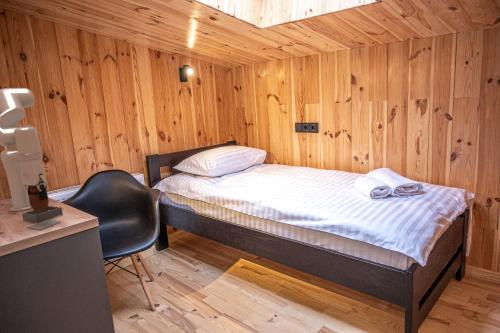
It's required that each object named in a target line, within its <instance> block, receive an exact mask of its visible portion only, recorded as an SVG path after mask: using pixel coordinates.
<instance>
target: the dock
mask: <svg viewBox="0 0 500 333" xmlns="http://www.w3.org/2000/svg"><path fill="white" fill-rule="evenodd" d="M63 214H64V212H63V208H62V207H60V206H55V205H54V206H53V205H48V207H47V208H46V209H44V210H40V211H35V210H33V209H32V210H30V211H26V212H23V213H21V217H22V221H23V222H27V223H33V224H37V223H40V222H43V221H46V220H52V219H53V218H57V217H60V216H63Z"/></svg>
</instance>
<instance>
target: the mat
mask: <svg viewBox="0 0 500 333" xmlns="http://www.w3.org/2000/svg"><path fill="white" fill-rule="evenodd" d="M61 223H62V222H61V221H59V220H52V219H48V220H45V221H43V222H40V223H33V224H32V225H29V226H26V229H28V230H34V231H42V230H45V229H48V228H51V227H53V226H56V225H60V224H61Z"/></svg>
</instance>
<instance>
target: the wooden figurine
mask: <svg viewBox="0 0 500 333" xmlns="http://www.w3.org/2000/svg"><path fill="white" fill-rule="evenodd" d="M40 183H41V182H40ZM38 184H39V183H38ZM40 187H41V185H40ZM29 190H30V192H31V193H32V194H30V195H29V203H30V205H31V207H32V208H31V209H32V210H35V211H40V210H44V209H46V208H47V207H48V206H49V198H48V199H46V200H42V201H40V199H39V194H38V191H39V190H38V188H37V186H36V185H35V186H30V187H29Z"/></svg>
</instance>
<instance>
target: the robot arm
mask: <svg viewBox="0 0 500 333" xmlns="http://www.w3.org/2000/svg"><path fill="white" fill-rule="evenodd" d="M35 99H36V98H35V95H34V93H33V91H32V90H30V88H27V87H26V88H25V87H9V88H8V87H6V88H0V146H2V147H6V148H7V149H4V150H2V151H1V152H0V160H1V162H2V165H3V167H4V170H5V173H6V177H7V178H6V179H7V183H8V187H9V191H10V196H11V199H12V201H11V203H12V205H13V206H11V207H9V208H10V211H11V212H20V211H26V210H27V211H28V210H31V209H32V207H31V205H30V203H29V195H30V194H32V193H31V192H30V190H29V187H30V186H35V185H36V186H37V188H38V190H39V191H38V194H39V199H40V201H42V200H46V199H48V200H49V195H48V191H47V190H48V184H49V181H48V179H47V176H46V172H45V168H44V165H43V163H42V161H43V153H42V148H41V142H40V137H39V132H38V130H37V128H36V127H35V126H33V125H32V124H28V125H27V124H25V125H19V122H20V121H22V120H23V119H24V118H25V116H26V112H25V109H27V108H31V107H33V106H34V105H35V102H36V100H35ZM9 147H11V148H9ZM40 182H41V183H40ZM38 183H39V184H38ZM40 185H41V187H40Z"/></svg>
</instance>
